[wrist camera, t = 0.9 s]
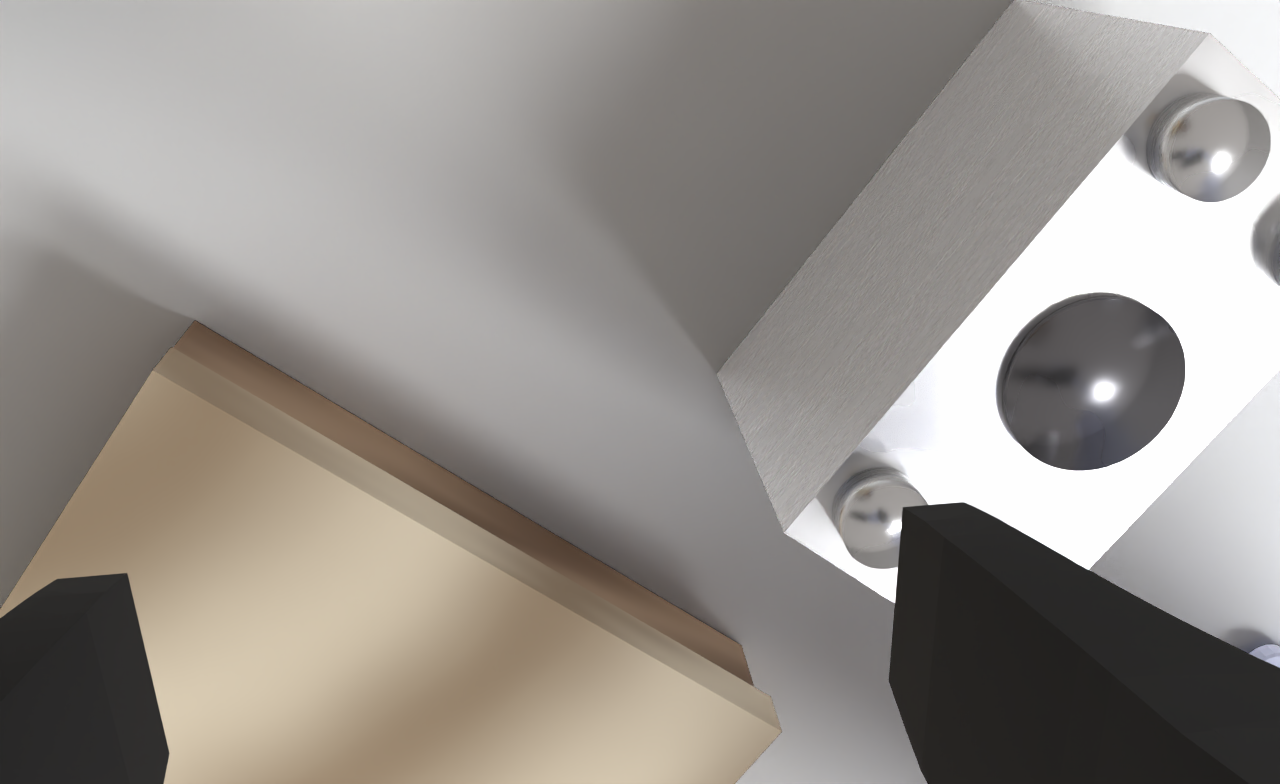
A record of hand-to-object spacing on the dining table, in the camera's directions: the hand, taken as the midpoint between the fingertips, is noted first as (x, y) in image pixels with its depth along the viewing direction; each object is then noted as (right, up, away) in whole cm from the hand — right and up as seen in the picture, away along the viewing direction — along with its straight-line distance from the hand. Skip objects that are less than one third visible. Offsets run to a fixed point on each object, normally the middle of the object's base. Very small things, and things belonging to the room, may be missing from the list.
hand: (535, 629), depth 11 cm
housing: (+6, +5, +10) cm, 13 cm away
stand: (-6, -6, +13) cm, 15 cm away
